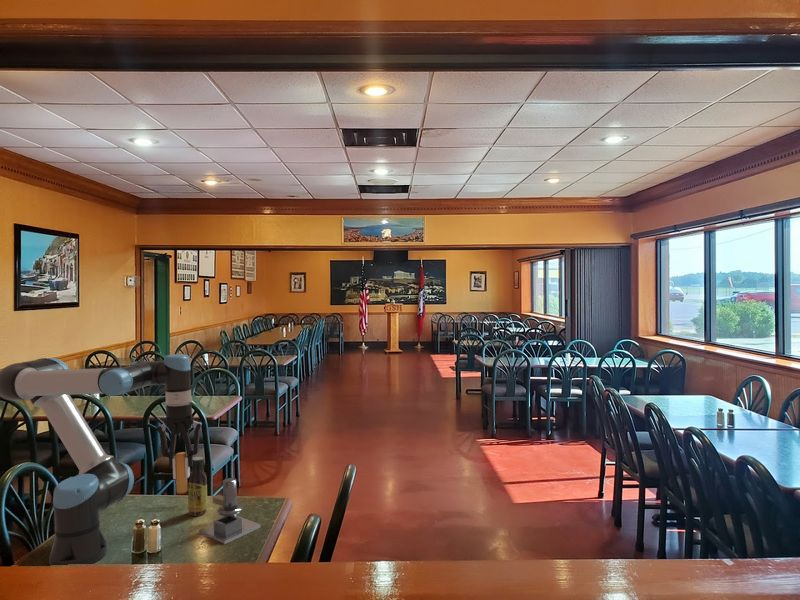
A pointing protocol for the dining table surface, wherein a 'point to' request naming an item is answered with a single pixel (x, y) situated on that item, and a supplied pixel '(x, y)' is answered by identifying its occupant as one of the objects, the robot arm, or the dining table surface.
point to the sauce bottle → (197, 488)
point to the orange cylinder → (181, 473)
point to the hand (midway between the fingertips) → (181, 477)
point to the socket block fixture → (229, 516)
